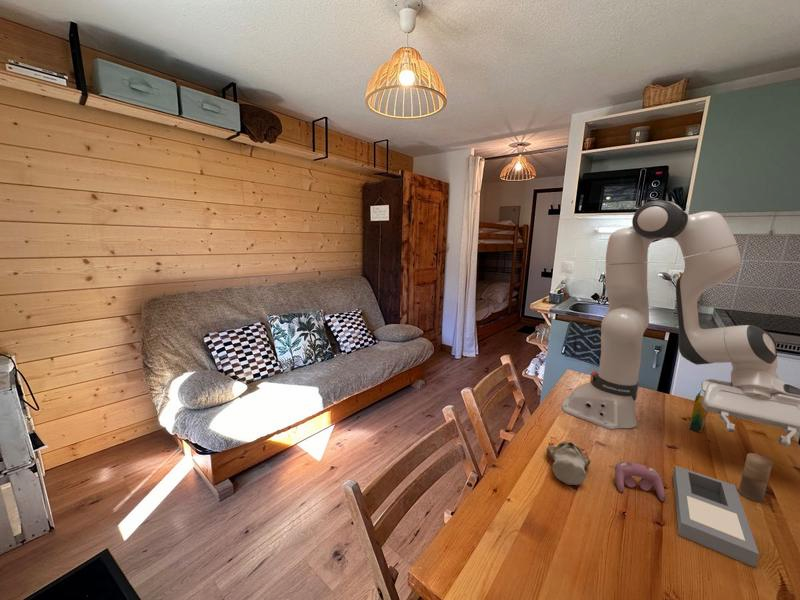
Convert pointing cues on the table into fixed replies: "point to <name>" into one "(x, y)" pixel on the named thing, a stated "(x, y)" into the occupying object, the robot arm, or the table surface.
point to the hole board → (713, 515)
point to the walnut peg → (755, 477)
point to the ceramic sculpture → (568, 462)
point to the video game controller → (647, 474)
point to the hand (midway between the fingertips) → (756, 437)
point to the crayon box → (698, 415)
